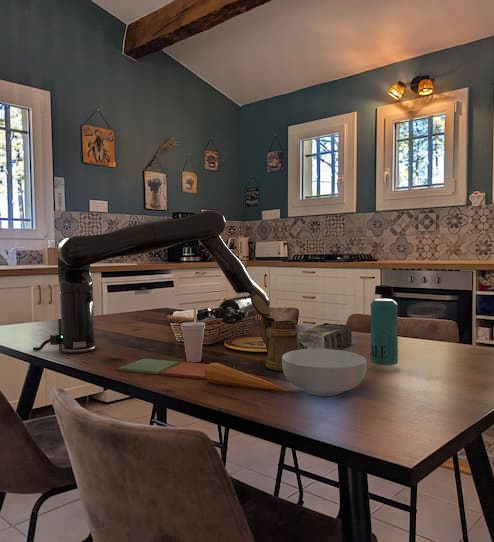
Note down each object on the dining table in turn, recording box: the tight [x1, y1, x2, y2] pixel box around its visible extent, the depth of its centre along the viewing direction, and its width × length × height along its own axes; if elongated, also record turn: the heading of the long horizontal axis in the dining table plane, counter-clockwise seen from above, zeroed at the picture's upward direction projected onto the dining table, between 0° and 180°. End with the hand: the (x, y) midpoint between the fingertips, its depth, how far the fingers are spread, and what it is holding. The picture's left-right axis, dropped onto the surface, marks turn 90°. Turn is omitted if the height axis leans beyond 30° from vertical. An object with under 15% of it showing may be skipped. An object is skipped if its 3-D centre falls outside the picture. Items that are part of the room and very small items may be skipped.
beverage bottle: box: [369, 284, 399, 366], centre depth 121 cm, size 6×7×20 cm
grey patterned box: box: [298, 322, 353, 350], centre depth 145 cm, size 20×10×6 cm, turn 145°
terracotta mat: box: [160, 361, 209, 380], centre depth 122 cm, size 11×11×1 cm
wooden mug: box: [251, 292, 300, 372], centre depth 125 cm, size 9×14×18 cm, turn 57°
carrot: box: [204, 362, 290, 392], centre depth 108 cm, size 20×4×4 cm, turn 61°
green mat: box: [117, 358, 181, 375], centre depth 127 cm, size 11×11×1 cm
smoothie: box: [180, 306, 206, 363], centre depth 132 cm, size 6×6×14 cm
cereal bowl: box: [282, 349, 367, 397], centre depth 104 cm, size 17×17×7 cm
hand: (211, 317), depth 142 cm, fingers open, 8 cm apart
